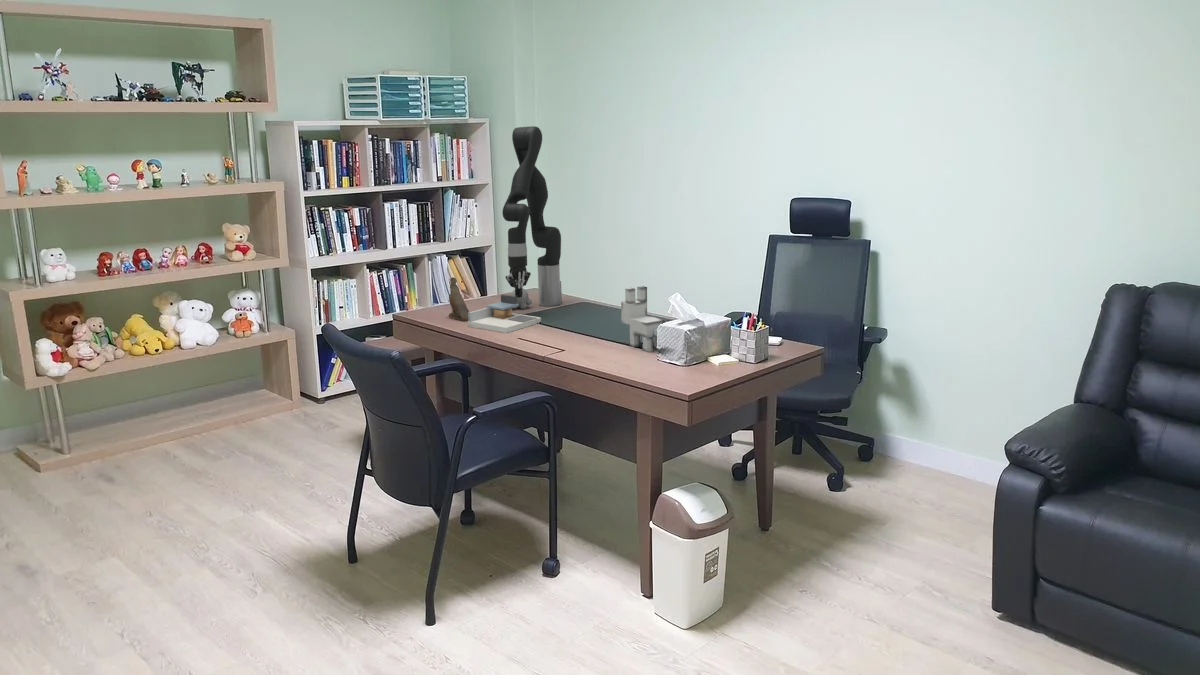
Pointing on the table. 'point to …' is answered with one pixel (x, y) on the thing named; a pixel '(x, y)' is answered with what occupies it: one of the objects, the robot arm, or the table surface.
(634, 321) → the toy llama
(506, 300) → the sliding lid
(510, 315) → the wooden block
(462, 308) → the worn brown figurine
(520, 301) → the round bodied animal figurine
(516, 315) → the puzzle board
